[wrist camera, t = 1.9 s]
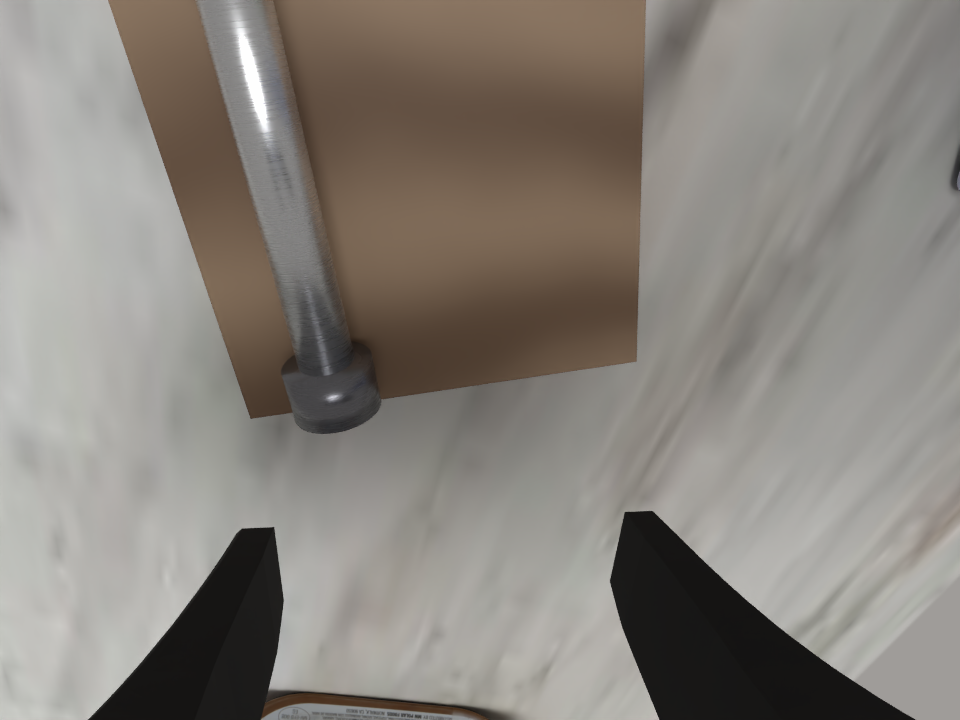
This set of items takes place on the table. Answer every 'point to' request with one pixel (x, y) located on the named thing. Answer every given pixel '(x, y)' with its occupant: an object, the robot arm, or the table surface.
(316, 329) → the steel shaft
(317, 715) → the tin
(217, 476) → the table surface
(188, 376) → the table surface
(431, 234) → the walnut base with seat
